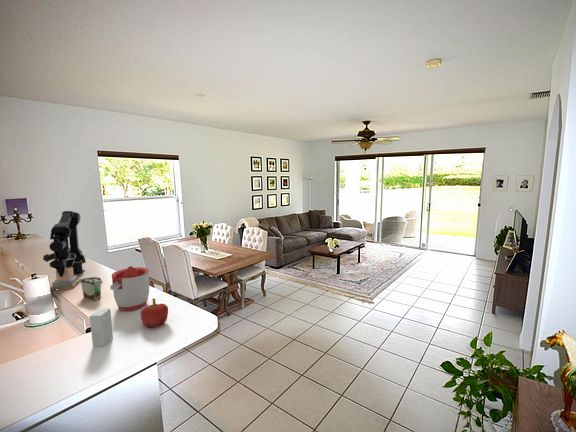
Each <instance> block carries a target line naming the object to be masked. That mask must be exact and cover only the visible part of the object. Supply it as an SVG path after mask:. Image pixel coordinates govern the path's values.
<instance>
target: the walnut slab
mask: <svg viewBox="0 0 576 432" xmlns="http://www.w3.org/2000/svg"><path fill="white" fill-rule="evenodd" d="M81 279H82V278H77V280H76V282H75V283H74V284H73V285H67V286H59V287H52V286H50V287H51V291H57V290H56V289H62V290H69V289H75V287H77V286H78V285H79V284H81Z"/></svg>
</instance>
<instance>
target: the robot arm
mask: <svg viewBox="0 0 576 432" xmlns="http://www.w3.org/2000/svg"><path fill="white" fill-rule="evenodd" d="M80 221H81V214H80V213H78V212H75V211H73V210H63V211H62V213H61V217H60V219H59V221H58V223H55V224H54V225H53V226H52V228H51V229H50V238H49V239H50V240H53V241H52V242H51V243H50V244H49V250H51V251H52V253H50V254H49V253H46V254H44V255H43V257H42V261H45V262H46V263H49V268H53V269H55V271H57V272H58V274H59V276H60V277H63V274H64V271H65V268H67V267H73V273H74V274H77V275H78V274H79V275H80V274H82V273H84V271H85V269H84V268H83V264H85V263H86V262H87V261H86V256H85V255H84V254H83V251H82V250H81V249H80V247H79V246H80V245H79V237H78V236H79V235H78V234H79V233H78V226H79V224H80V223H81V222H80ZM69 250H70V251H69ZM50 261H51V262H50Z"/></svg>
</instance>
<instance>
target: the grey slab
mask: <svg viewBox="0 0 576 432" xmlns="http://www.w3.org/2000/svg"><path fill="white" fill-rule="evenodd" d="M77 279H78V276H77V275H74V277H73V278H72V279H71V280H67V281H57V279H55V280H54V281H52V282H51V284H52V285H51V287H59V286H67V285H73V284H74V283H75V282H76V280H77Z"/></svg>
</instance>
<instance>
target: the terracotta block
mask: <svg viewBox="0 0 576 432" xmlns="http://www.w3.org/2000/svg"><path fill="white" fill-rule="evenodd" d="M74 276H75V275H74V273H73V267H67V268H65V271H64V274H63V277H60V276H59V274H58V272H57V270H55V278H56V279H57V281H67V280H71V279H72V278H73V277H74ZM56 279H55V280H56Z"/></svg>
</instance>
